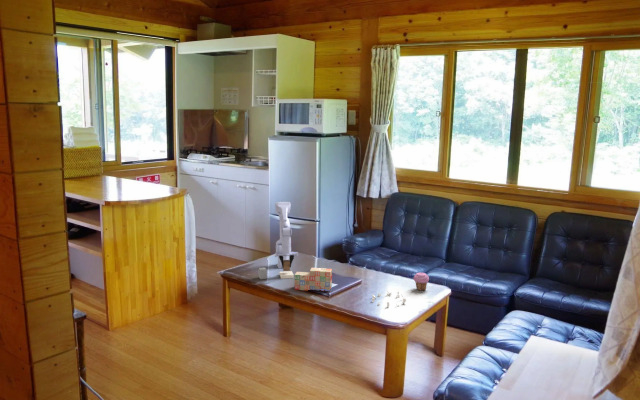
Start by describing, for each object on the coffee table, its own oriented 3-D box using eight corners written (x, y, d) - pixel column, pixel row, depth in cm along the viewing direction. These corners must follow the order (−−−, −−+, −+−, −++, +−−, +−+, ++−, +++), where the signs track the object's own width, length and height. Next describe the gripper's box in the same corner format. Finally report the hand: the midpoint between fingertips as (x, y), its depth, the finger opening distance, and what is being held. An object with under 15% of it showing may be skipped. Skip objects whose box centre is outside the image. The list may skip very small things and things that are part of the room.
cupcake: (416, 292, 306) (417, 275, 304) (410, 287, 314) (411, 271, 313) (431, 291, 308) (431, 274, 306) (424, 286, 316) (425, 270, 314)
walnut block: (283, 269, 335) (283, 260, 334) (289, 268, 336) (289, 259, 335) (283, 271, 331) (283, 261, 330) (290, 270, 332) (289, 261, 331)
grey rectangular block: (258, 277, 332) (258, 268, 331) (264, 276, 334) (264, 267, 333) (260, 279, 329) (260, 270, 328) (266, 278, 330) (266, 269, 329)
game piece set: (413, 301, 292) (413, 294, 291) (391, 310, 278) (392, 303, 277) (385, 293, 305) (385, 286, 305) (363, 301, 291) (363, 295, 291)
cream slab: (279, 275, 338) (279, 271, 337) (291, 274, 339) (291, 271, 339) (280, 279, 330) (280, 275, 329) (293, 278, 331) (293, 274, 331)
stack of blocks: (294, 289, 309) (294, 269, 307) (296, 286, 315) (296, 266, 313) (330, 292, 306) (330, 271, 304) (332, 288, 312) (332, 268, 310)
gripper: (275, 248, 326) (275, 269, 328) (298, 247, 328) (298, 268, 331) (274, 245, 333) (274, 266, 335) (297, 244, 335) (297, 265, 337)
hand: (286, 267), depth 333 cm, fingers closed on walnut block, 4 cm apart
